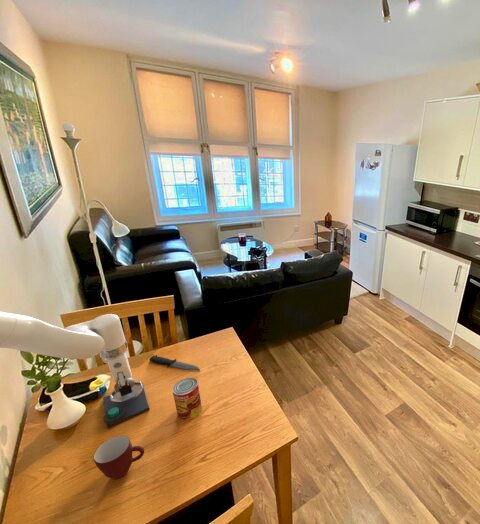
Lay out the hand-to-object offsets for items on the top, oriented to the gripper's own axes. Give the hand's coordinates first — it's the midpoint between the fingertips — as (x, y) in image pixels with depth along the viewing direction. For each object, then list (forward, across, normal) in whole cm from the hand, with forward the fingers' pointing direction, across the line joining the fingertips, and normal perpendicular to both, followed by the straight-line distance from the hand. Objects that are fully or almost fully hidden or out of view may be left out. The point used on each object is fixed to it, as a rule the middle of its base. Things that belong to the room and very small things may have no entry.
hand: (125, 387), depth 105 cm
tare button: (+3, -7, +4) cm, 9 cm away
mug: (+6, -29, +4) cm, 30 cm away
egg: (+1, 0, 0) cm, 1 cm away
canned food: (+6, -19, -16) cm, 26 cm away
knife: (+6, +9, -18) cm, 21 cm away
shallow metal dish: (+3, 0, 0) cm, 3 cm away
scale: (+6, -2, +1) cm, 6 cm away
